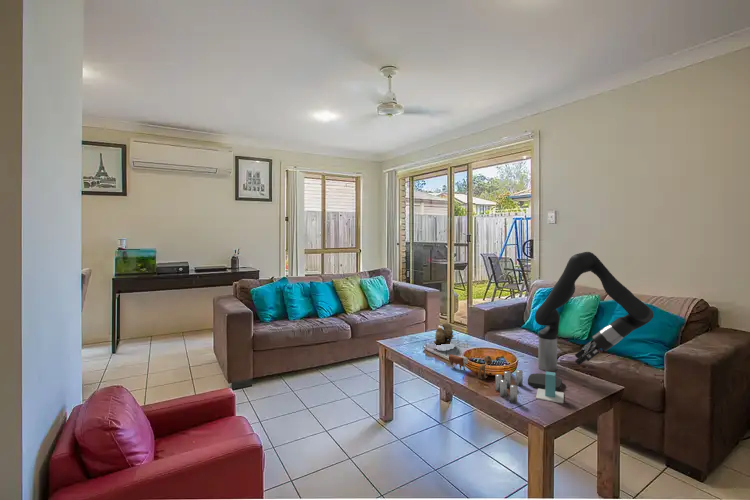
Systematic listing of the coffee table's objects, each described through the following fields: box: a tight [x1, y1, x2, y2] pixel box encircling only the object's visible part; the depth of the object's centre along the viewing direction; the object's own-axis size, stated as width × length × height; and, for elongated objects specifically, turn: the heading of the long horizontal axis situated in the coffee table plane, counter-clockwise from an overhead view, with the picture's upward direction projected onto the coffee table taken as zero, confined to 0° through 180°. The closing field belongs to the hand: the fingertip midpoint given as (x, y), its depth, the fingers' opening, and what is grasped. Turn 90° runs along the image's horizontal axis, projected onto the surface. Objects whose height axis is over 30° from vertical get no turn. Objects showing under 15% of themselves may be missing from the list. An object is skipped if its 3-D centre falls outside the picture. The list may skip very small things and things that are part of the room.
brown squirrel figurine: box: [433, 321, 454, 345], centre depth 243 cm, size 18×12×17 cm, turn 136°
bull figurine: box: [448, 353, 470, 371], centre depth 204 cm, size 4×13×8 cm, turn 38°
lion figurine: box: [477, 355, 493, 380], centre depth 195 cm, size 15×5×9 cm, turn 150°
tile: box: [535, 388, 565, 404], centre depth 170 cm, size 11×11×1 cm
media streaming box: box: [527, 373, 563, 392], centre depth 183 cm, size 15×15×3 cm
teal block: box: [544, 371, 556, 398], centre depth 169 cm, size 4×4×10 cm
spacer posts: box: [495, 369, 524, 404], centre depth 175 cm, size 23×11×7 cm, turn 152°
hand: (576, 359), depth 164 cm, fingers open, 8 cm apart
